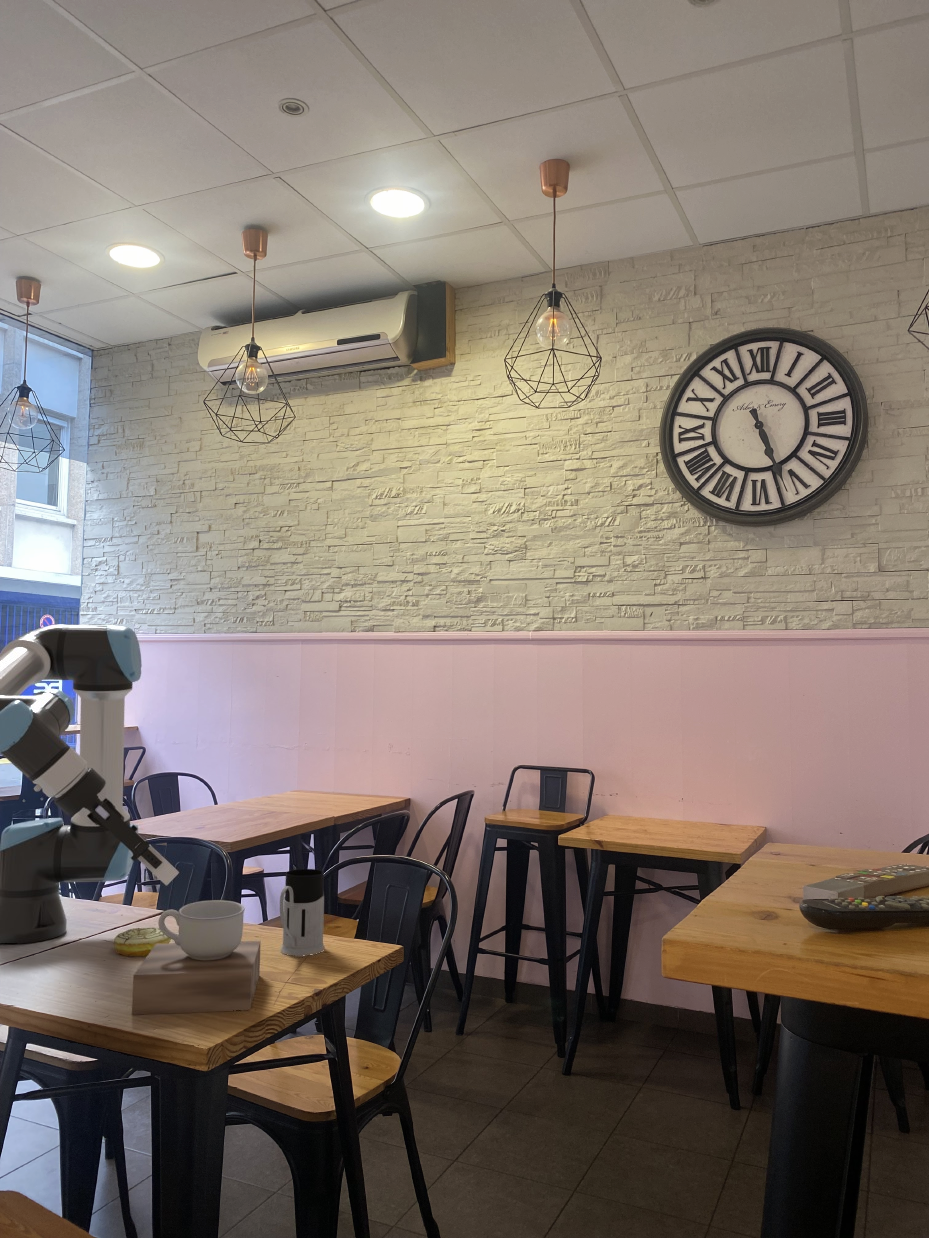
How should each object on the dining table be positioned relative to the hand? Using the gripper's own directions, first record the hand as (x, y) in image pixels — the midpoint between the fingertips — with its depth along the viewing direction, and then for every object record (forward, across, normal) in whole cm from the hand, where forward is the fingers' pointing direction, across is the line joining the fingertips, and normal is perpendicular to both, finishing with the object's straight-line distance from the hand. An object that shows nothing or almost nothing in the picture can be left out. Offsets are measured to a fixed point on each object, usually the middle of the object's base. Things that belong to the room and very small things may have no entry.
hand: (164, 871), depth 146 cm
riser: (+19, 0, -10) cm, 22 cm away
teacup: (+15, 0, -6) cm, 16 cm away
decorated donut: (+16, -31, -13) cm, 38 cm away
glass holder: (+35, -15, +5) cm, 38 cm away
